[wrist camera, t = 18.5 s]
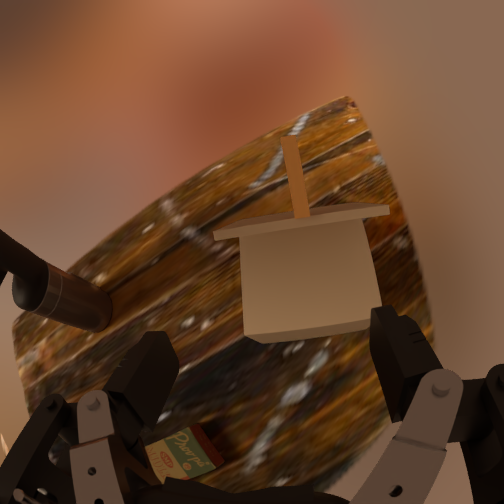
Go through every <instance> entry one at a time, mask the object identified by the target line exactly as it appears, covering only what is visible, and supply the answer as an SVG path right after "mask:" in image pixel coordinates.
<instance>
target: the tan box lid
mask: <svg viewBox="0 0 504 504" xmlns="http://www.w3.org/2000/svg"><path fill="white" fill-rule="evenodd" d="M280 139H281V144H282V149H283V154H284V159H285V165H286V170H287V175H288V181H289V186H290V192H291V198H292V204H293V210H294V211H291V212H284V213H278V214H272V215H266V216H260V217H254V218H248V219H242V220H239V221H237V222H234V223H232V224H229V225H227V226H225V227H222V228H220V229H218V230H215V231H213V234H214V240H215V241H217V240H223V239H229V238H235V237H241V236H247V235H254V234H260V233H266V232H273V231H279V230H286V229H292V228H299V227H305V226H312V225H319V224H326V223H332V222H339V221H346V220H353V219H360V218H368V217H375V216H382V215H390V210H389V205H384V204H372V203H358V202H353V203H346V204H338V205H331V206H324V207H317V208H310V209H309V205H308V199H307V193H306V187H305V181H304V176H303V170H302V165H301V160H300V155H299V150H298V145H297V140H296V135H290V136H284V137H280Z"/></svg>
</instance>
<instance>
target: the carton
mask: <svg viewBox="0 0 504 504" xmlns="http://www.w3.org/2000/svg"><path fill="white" fill-rule="evenodd" d="M145 449H146V452H147V454H148V457H149V460H150V462H151V465H152V468H153V470H154V472H155V474H156V476H157V477H158V479H159V480H160V481H161V482H162V484H164V481H165V478H166V476H167V477H172V478H177V479H183V480H188V479H190V478H193V477H196V476H199V475H201V474H204V473H207V472H209V471H211V470H214V469H215V468H217V467H218V466H220V465H221V464H222V463H224V461H225V460H224V459H223V458H222V456H221V455H220V454H219V452H218V451H217V449H216V448H215V447H214V445H213V444H212V443H211V441H210V440H209V438H208V437H207V435H206V434H205V433H204V431H203V430H202V428H201V427H200V425H199V424H197V423H195V424H193V425H191V426H189V427H187V428H185V429H183V430H181V431H179V432H177V433H175V434H173V435H171V436H169V437H167V438H164V439H162V440H160V441H158V442H155V443H153V444H151V445H148V446H146V447H145Z"/></svg>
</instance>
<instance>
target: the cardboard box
mask: <svg viewBox="0 0 504 504" xmlns="http://www.w3.org/2000/svg"><path fill="white" fill-rule="evenodd" d="M239 241H240V262H241V282H242V301H243V319H244V335H245V336H247V337H249V338H251V339H254V340H256V341H258V342H260V343H262V344H264V343H274V342H284V341H293V340H301V339H309V338H316V337H323V336H330V335H336V334H342V333H348V332H354V331H360V330H365V329H367V328H368V327H370V316H371V309H372V308H375V307H380V306H382V303H381V298H380V292H379V287H378V282H377V278H376V273H375V269H374V264H373V260H372V256H371V252H370V248H369V244H368V240H367V236H366V232H365V228H364V225H363V221H362V218H360V219H353V220H346V221H339V222H332V223H326V224H319V225H312V226H305V227H299V228H292V229H286V230H279V231H273V232H266V233H260V234H254V235H247V236H241V237H239Z"/></svg>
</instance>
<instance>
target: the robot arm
mask: <svg viewBox="0 0 504 504" xmlns="http://www.w3.org/2000/svg"><path fill="white" fill-rule="evenodd" d="M8 271H9V272H11V273H12V274H14V276H13V283H12V294H13V299H14V302H15V303H16V305H17V306H18V307H20V308H21V309H24V310H26V311H29V312H31V313H34V314H37V315H40V316H43V317H45V318H48V319H51V320H54V321H57V322H60V323H63V324H67V325H70V326H73V327H76V328H80V329H83V330H87V331H90V332H94V333H97V332H100V331H102V330H103V329H104V328H105V327H106V326H107V325H108V323H109V321H110V318H111V314H112V303H111V299H110V297H109V296H108V294H107V293H106V292H104V291H102V290H101V289H100V287H98V286H96V285H94V284H92V283H90V282H88V281H86V280H84V279H83V278H81V277H79V276H77V275H75V274H73V273H71V272H68V273H66V272H64V271H62V270H61V269H59V268H57V267H55V266H53V265H51V264H50V263H48V262H46V261H44V260H42V259H41V258H39V257H38V256H36V255H35V254H34V253H32V252H31V251H30V250H29V249H27V248H26V247H24V246H23V245H21V244H20V243H18V242H17V241H15V240H14V239H12V238H11V237H10V236H8V235H7V234H6V233H5V232H3V231H2V230H1V229H0V285H1V283H2V282H3V280H4V278H5V276H6V274H7V272H8ZM369 343H370V352H371V356H372V359H373V362H374V365H375V368H376V371H377V374H378V377H379V381H380V384H381V387H382V390H383V394H384V397H385V400H386V404H387V407H388V411H389V414H390V418H391V421H392V423H395V422H399V421H402V424H401V426H400V427H399V430H398V431H397V433H396V435H395V436H394V437H393V438H392V440H391V441H390V443H389V445H388V446H387V448H386V450H385V452H384V453H383V455H382V456H381V458H380V460H379V461H378V463H377V465H376V466H375V468H374V469H373V471H372V472H371V474H370V475H369V477H368V478H367V480H366V481H365V483H364V484H363V486H362V487H361V488H360V490H359V491H358V492H357V494H356V495H355V496H354V498H353V499H352V500H351V501H348V500H346V499H343V498H341V497H338V496H335V495H331V494H327V493H322V492H314V485H302V486H283V487H270V488H265V489H260V490H255V491H249V492H243V493H235V494H234V493H228V492H225V491H222V490H219V489H216V488H213V487H210V486H208V485H205V484H202V483H199V482H195V481H189V480H183V479H177V478H172V477H167V476H166V478H165V481H164V484H162V482H161V481H160V480H159V479H158V477H157V476H156V474H155V472H154V470H153V468H152V465H151V462H150V460H149V457H148V454H147V452H146V449H145V446H144V443H143V440H142V438H141V437H140V435H139V434H140V432H141V430H143V431H148V432H153V430H154V428H155V425H156V423H157V421H158V418H159V416H160V414H161V412H162V409H163V407H164V405H165V402H166V400H167V398H168V396H169V393H170V391H171V389H172V386H173V384H174V382H175V380H176V377H177V375H178V373H179V360H178V357H177V355H176V353H175V351H174V349H173V347H172V344H171V342H170V340H169V338H168V336H167V334H166V333H165V332H164V331H147V332H146V333H145V334H144V335H143V337H142V338H141V340H140V341H139V342H138V343H137V344H136V345H135V346H133V347H132V348H131V349H130V350H128V352H127V353H126V355H125V356H124V358H123V360H122V361H121V362H120V364H119V365H118V367H117V368H116V369H115V371H114V372H113V374H112V375H111V377H110V378H109V380H108V381H107V383H106V384H105V386H104V387H103V389H102V390H94V391H91V392H88V393H87V394H85V395H84V396H83V397H82V398H81V399H80V400H79V402H78V403H67V402H66V401H65V400H64V398H63V397H62V396H61V395H60V394H51V395H49V396H47V397H46V398H44V399H43V400H42V402H41V403H40V405H39V406H38V407H37V409H36V410H35V412H34V413H33V415H32V416H31V418H30V419H29V421H28V422H27V424H26V426H25V427H24V429H23V430H22V432H21V433H20V435H19V436H18V438H17V440H16V441H15V443H14V444H13V446H12V448H11V450H10V451H9V453H8V455H7V456H6V458H5V460H4V462H3V463H2V465H1V467H0V504H75V503H76V502H77V504H423V503H424V501H425V499H426V497H427V495H428V493H429V491H430V490H431V488H432V486H433V484H434V481H435V479H436V477H437V475H438V473H439V471H440V468H441V466H442V464H443V461H444V459H445V456H446V452H447V450H445V447H446V444H447V443H451V442H460V445H461V448H462V452H463V456H464V459H465V463H466V467H467V471H468V476H469V480H470V485H471V490H472V495H473V501H474V504H504V364H499V365H496V366H494V367H493V368H491V369H490V370H489V372H488V374H487V376H486V378H482V379H472V380H461V378H460V377H459V376H458V375H457V374H456V373H455V372H453V371H451V370H446V369H443V367H442V365H441V363H440V361H439V360H438V358H437V356H436V354H435V353H434V351H433V349H432V348H431V346H430V344H429V343H428V341H427V340H426V338H425V336H424V334H423V333H422V332H421V329H420V328H419V326H418V325H417V323H416V322H415V321H414V320H413V319H411V318H410V317H408V316H407V315H403V316H398V315H397V313H396V311H395V309H394V308H393V306H392V305H391V304H390V305H385V306H380V307H375V308H372V309H371V316H370V340H369ZM58 434H59V435H60V437H61V438H62V439H63V440H65V441H66V442H67V445H66V446H65V448H64V450H63V452H62V454H61V456H60V458H59V460H58V462H57V464H56V466H55V465H54V464H53V463H52V462H51V461H50V460H49V457H48V453H49V450H50V448H51V446H52V445H53V443H54V441H55V439H56V437H57V436H58Z"/></svg>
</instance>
